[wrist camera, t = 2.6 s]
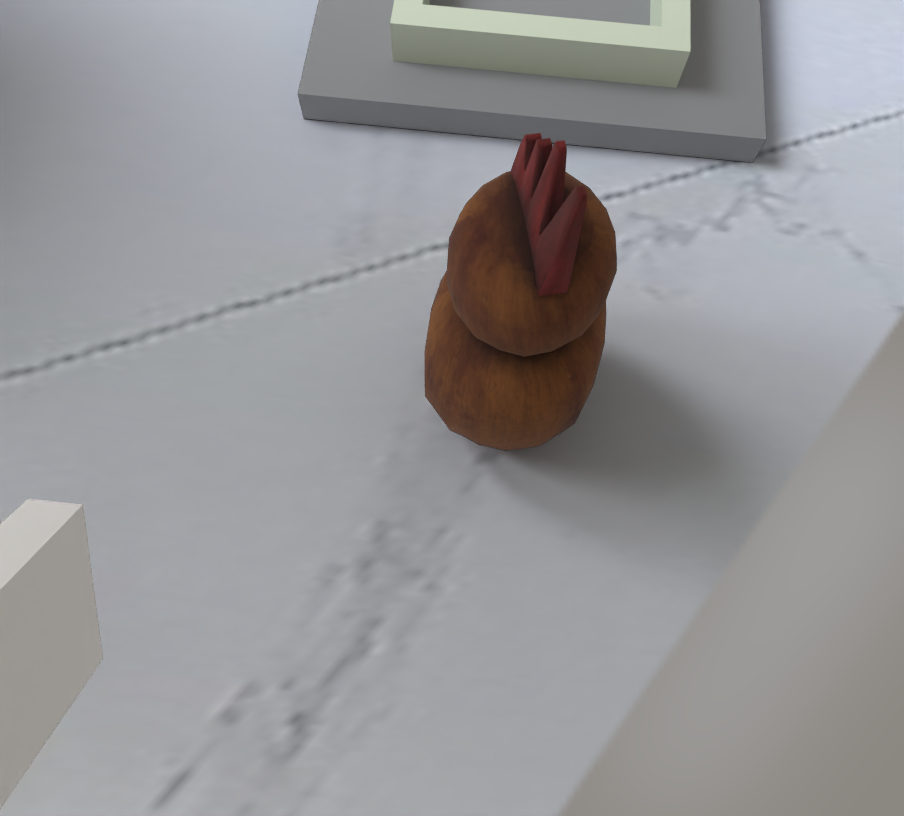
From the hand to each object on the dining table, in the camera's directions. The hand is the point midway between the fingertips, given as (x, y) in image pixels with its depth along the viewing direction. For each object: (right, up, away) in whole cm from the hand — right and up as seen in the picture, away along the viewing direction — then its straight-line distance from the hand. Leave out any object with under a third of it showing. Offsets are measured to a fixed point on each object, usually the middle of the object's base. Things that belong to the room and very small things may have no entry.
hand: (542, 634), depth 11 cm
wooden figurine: (+1, +4, +19) cm, 19 cm away
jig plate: (+3, +23, +26) cm, 35 cm away
